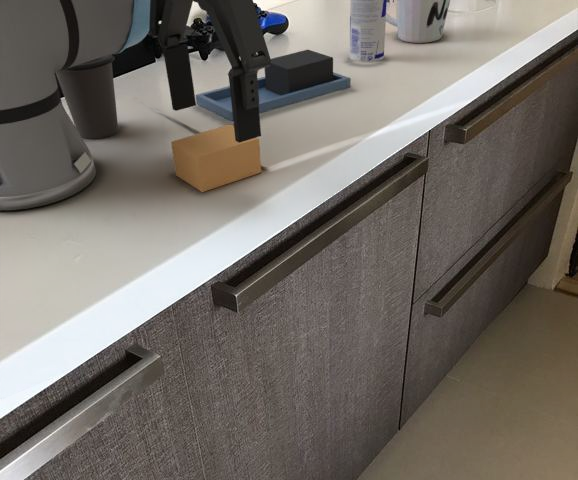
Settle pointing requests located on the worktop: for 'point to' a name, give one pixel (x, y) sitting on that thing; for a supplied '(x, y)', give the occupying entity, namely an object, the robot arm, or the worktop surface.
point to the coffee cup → (91, 97)
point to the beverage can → (367, 30)
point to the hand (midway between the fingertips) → (214, 122)
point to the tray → (268, 96)
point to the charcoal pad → (298, 72)
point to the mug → (420, 19)
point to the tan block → (215, 158)
